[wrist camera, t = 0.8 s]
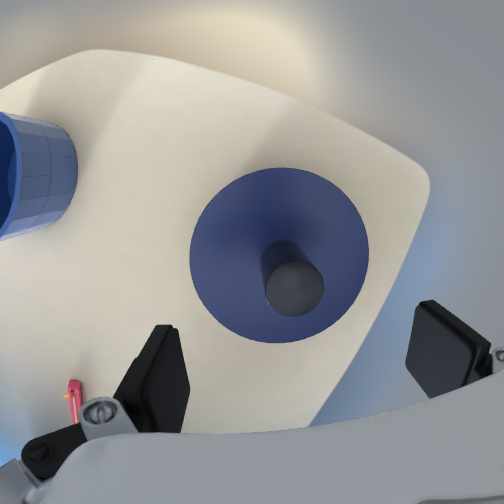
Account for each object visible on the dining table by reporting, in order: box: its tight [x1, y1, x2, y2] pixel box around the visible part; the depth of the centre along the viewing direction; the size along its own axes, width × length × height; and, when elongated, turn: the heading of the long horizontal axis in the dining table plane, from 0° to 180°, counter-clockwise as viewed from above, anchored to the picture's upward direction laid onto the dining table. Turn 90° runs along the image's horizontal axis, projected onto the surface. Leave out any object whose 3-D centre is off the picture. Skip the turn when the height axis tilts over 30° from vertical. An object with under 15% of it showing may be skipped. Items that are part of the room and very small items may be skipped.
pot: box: [0, 112, 78, 241], centre depth 21 cm, size 12×12×10 cm
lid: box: [190, 168, 369, 343], centre depth 19 cm, size 13×13×7 cm
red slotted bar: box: [63, 380, 82, 424], centre depth 34 cm, size 24×2×5 cm
